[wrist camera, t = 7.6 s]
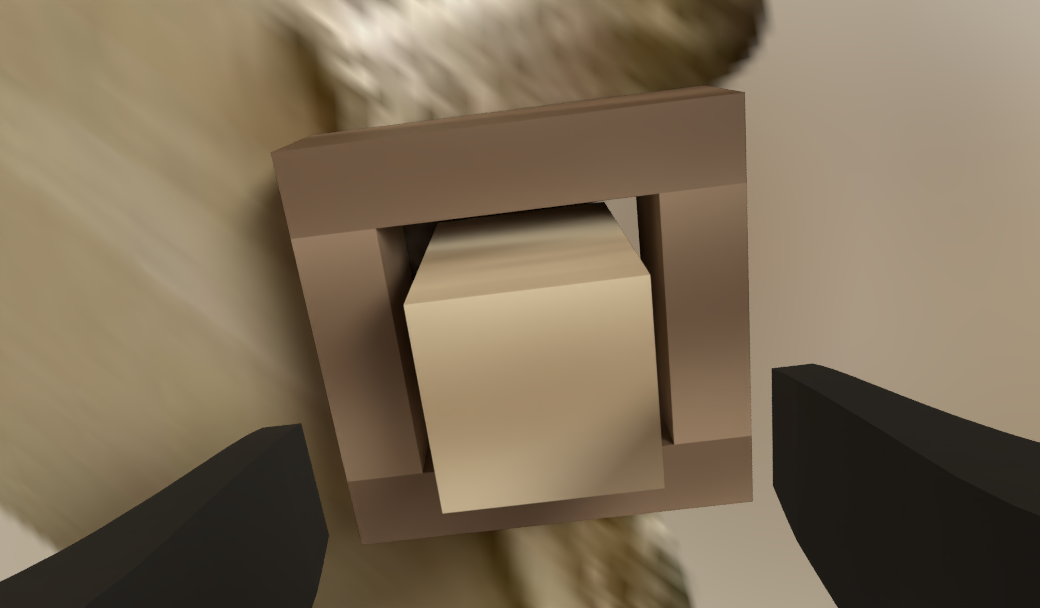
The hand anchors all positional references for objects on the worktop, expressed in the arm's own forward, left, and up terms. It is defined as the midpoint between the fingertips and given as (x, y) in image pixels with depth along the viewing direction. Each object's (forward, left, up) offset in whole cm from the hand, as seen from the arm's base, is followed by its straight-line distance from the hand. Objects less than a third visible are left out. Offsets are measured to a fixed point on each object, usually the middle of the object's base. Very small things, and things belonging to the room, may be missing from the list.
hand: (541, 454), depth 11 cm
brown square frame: (0, 0, -7) cm, 7 cm away
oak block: (0, 0, -7) cm, 7 cm away
